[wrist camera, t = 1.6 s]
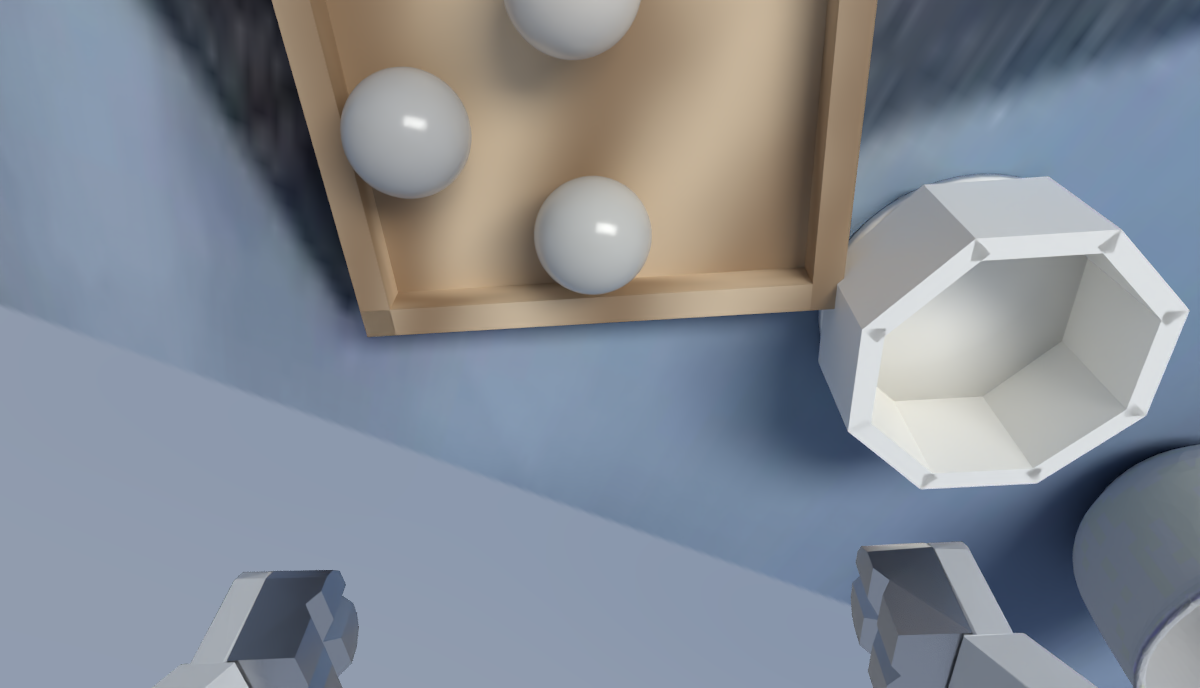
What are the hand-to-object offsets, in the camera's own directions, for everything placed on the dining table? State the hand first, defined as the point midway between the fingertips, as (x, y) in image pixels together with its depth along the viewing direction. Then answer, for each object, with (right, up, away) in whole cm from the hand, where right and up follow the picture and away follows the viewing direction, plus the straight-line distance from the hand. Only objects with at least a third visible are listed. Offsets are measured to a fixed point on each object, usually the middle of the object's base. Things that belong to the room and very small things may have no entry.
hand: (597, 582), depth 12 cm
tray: (0, +11, +11) cm, 16 cm away
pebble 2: (-1, +14, +9) cm, 16 cm away
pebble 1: (-5, +11, +11) cm, 16 cm away
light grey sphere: (0, +8, +13) cm, 15 cm away
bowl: (+13, +5, +15) cm, 20 cm away
